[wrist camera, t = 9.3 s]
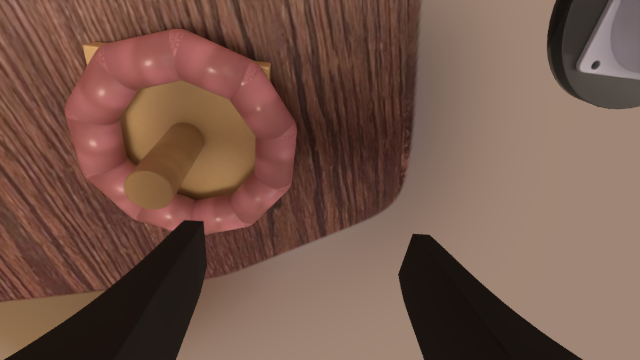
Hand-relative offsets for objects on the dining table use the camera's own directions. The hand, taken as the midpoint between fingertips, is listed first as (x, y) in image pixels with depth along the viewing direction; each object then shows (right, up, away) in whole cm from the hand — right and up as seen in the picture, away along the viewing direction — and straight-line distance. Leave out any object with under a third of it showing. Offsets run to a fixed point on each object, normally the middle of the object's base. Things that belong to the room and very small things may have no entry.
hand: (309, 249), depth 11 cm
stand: (-7, +5, +8) cm, 12 cm away
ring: (-7, +4, +6) cm, 10 cm away
